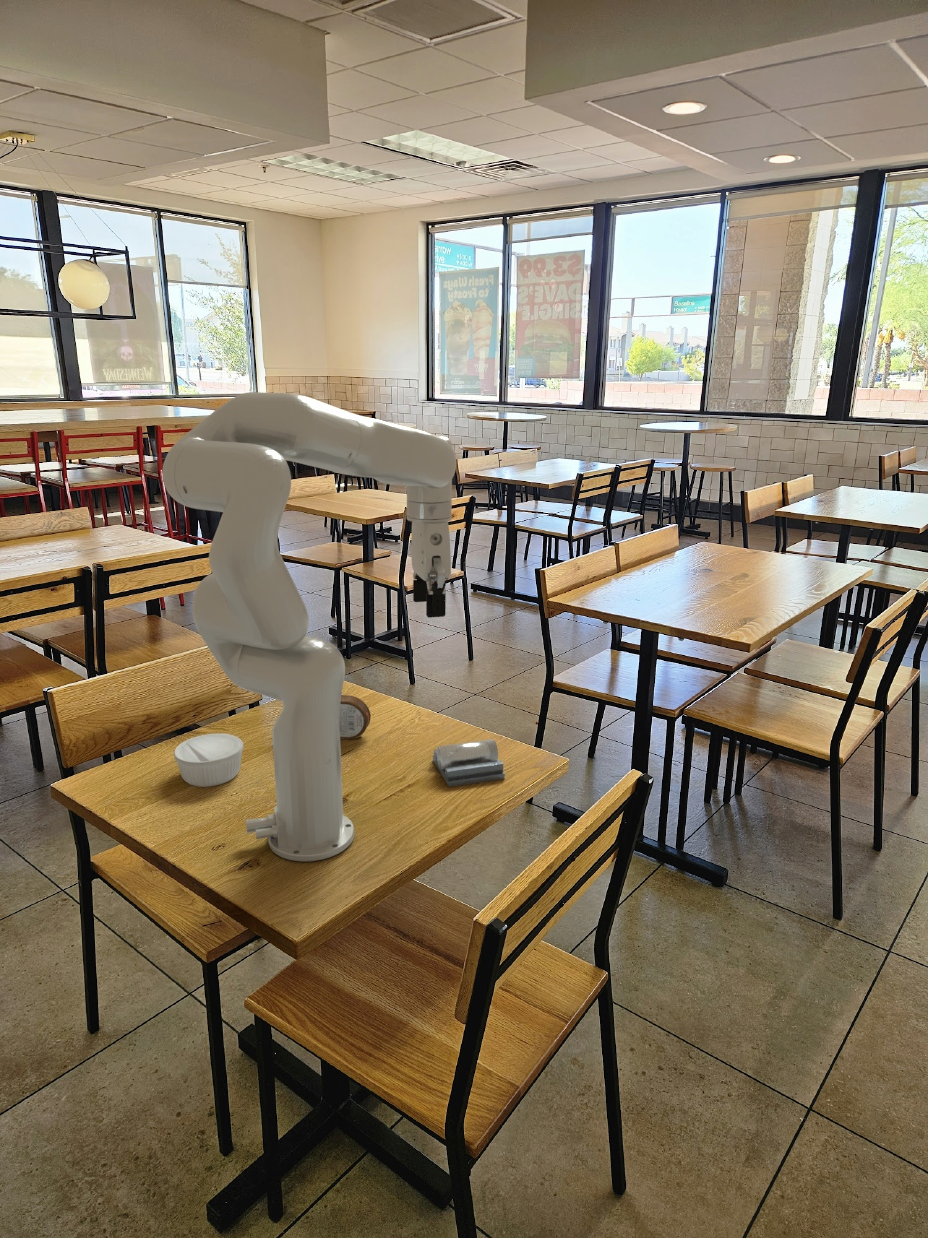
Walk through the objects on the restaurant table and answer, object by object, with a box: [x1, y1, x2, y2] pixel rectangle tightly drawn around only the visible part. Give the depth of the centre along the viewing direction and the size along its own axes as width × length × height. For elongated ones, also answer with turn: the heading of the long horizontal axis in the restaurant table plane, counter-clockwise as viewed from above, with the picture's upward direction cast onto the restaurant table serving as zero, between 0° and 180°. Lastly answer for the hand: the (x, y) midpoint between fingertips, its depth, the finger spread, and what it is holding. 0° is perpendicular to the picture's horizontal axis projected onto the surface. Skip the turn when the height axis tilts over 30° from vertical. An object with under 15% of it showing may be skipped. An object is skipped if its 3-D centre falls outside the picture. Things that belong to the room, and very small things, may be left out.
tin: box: [340, 694, 372, 740], centre depth 153 cm, size 15×3×8 cm, turn 84°
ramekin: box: [173, 732, 244, 788], centre depth 139 cm, size 11×11×5 cm
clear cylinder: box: [436, 738, 499, 770], centre depth 141 cm, size 10×4×4 cm, turn 107°
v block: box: [432, 748, 506, 788], centre depth 141 cm, size 10×10×2 cm
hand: (428, 608), depth 140 cm, fingers open, 9 cm apart
